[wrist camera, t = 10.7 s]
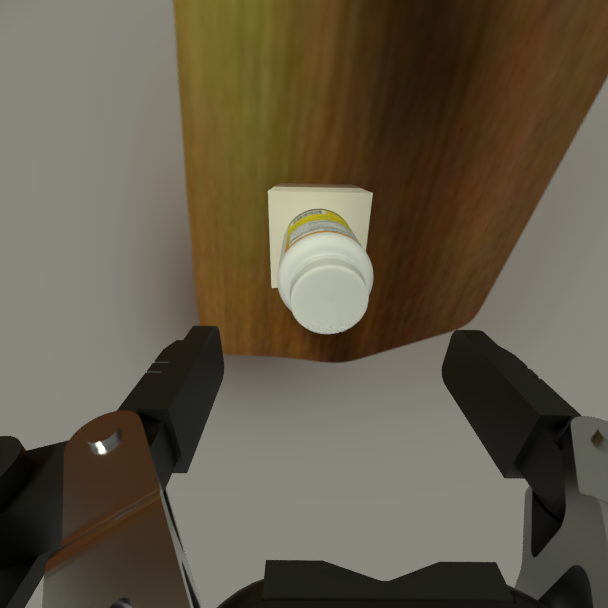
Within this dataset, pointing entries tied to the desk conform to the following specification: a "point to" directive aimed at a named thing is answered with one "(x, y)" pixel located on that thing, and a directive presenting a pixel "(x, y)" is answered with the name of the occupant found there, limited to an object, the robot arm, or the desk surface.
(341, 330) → the supplement bottle
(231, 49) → the desk surface
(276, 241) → the tower top
